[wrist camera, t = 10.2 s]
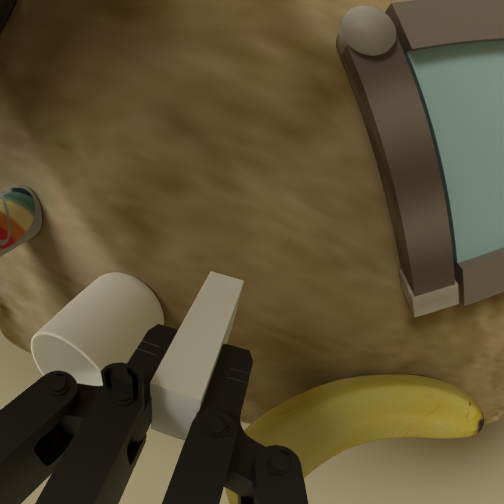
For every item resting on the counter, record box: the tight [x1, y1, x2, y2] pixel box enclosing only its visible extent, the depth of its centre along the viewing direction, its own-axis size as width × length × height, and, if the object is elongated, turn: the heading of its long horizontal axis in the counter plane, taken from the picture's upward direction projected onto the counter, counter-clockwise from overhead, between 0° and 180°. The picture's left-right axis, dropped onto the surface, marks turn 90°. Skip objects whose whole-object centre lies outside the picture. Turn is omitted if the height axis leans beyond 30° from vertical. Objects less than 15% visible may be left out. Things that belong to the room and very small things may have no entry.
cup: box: [31, 272, 164, 386], centre depth 25 cm, size 8×12×10 cm
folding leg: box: [336, 5, 459, 317], centre depth 18 cm, size 19×3×4 cm, turn 21°
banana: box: [225, 374, 484, 504], centre depth 19 cm, size 23×6×20 cm, turn 93°
